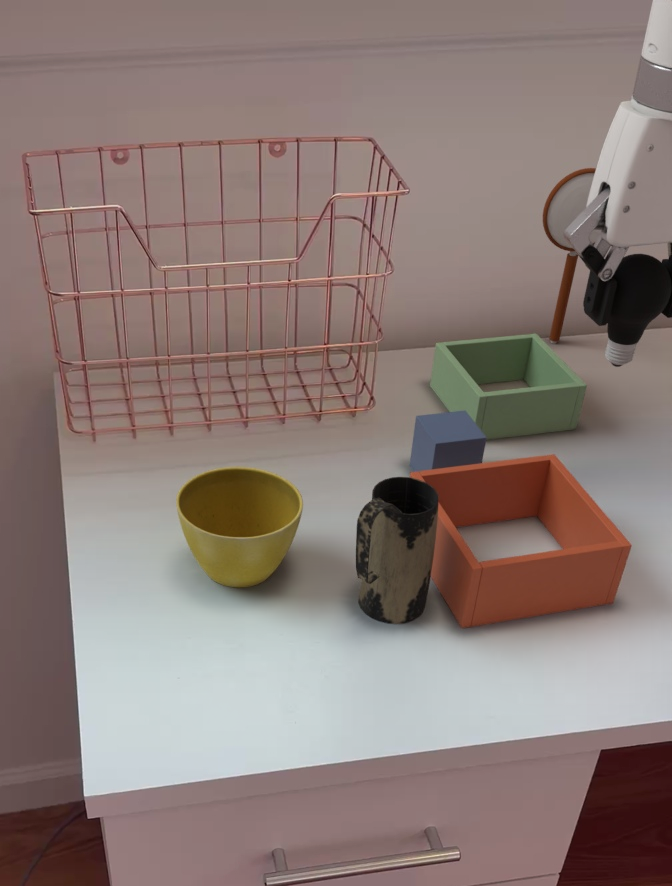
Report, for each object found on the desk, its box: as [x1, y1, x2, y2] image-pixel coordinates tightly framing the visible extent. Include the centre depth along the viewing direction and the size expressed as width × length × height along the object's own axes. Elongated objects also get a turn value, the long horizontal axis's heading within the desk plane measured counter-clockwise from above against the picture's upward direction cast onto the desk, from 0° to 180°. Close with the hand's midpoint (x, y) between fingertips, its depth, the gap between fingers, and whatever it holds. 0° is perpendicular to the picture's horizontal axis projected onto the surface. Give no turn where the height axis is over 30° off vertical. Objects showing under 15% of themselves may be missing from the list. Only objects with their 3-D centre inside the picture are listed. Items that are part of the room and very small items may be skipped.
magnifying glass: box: [542, 167, 602, 345], centre depth 114 cm, size 9×2×20 cm, turn 98°
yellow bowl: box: [175, 466, 304, 588], centre depth 84 cm, size 10×10×7 cm
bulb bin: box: [429, 333, 587, 441], centre depth 107 cm, size 12×12×6 cm
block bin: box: [409, 453, 632, 629], centre depth 86 cm, size 14×14×7 cm
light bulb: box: [604, 253, 671, 368], centre depth 89 cm, size 6×6×10 cm
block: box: [409, 410, 487, 472], centre depth 96 cm, size 5×5×6 cm
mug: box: [355, 476, 439, 625], centre depth 79 cm, size 8×6×12 cm
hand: (629, 313), depth 89 cm, fingers closed on light bulb, 5 cm apart
